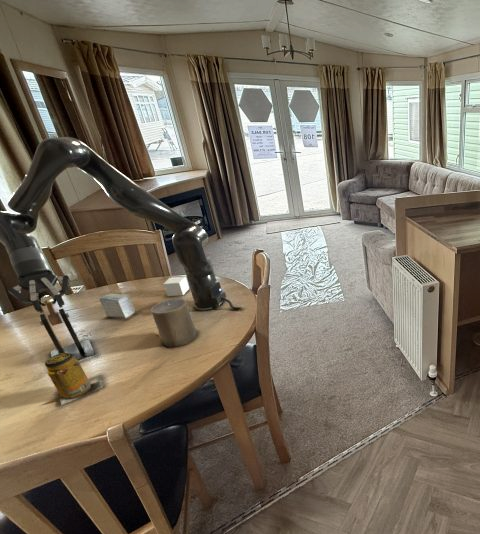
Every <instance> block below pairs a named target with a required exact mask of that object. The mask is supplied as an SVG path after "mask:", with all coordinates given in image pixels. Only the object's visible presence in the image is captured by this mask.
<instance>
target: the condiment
mask: <svg viewBox="0 0 480 534" xmlns="http://www.w3.org/2000/svg"><path fill="white" fill-rule="evenodd" d="M44 366H45V367H46V369H47V372H46V373H47V375H48V376H49V378H50V380H51V382H52V384H53V386H54V387H55V389H56V390H57V392H58V394H59V395H60V396H59V401H60V405H61V406H63V405H65V404H68V403H70V402H73V401H75V400H78V399H80V398H82V397H85V396H87V395H89V394H91V393H94V392H96V391H98V390H101V389H103V388H104V385H103V383H102V380H98V381H95V382H94V383H93V382H92V383H91V382H90V380H89V378H88V375H87V374H86V372H85V371H84V369H83V367H82V365H81V363H80V360H75V357H73V354H72V353H61V354H57V355H55V356H50V357H49V358H47V359H46V360H45V362H44Z"/></svg>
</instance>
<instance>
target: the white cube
mask: <svg viewBox="0 0 480 534" xmlns="http://www.w3.org/2000/svg"><path fill="white" fill-rule="evenodd" d="M162 284H163V287H164V291H165V293H166V297H175V296H184V295H185V294H186V293H187V292H188V290H190V287H189V283H188V280H187V277H186V276H177V277H176V276H175V277H169V278H168V279H167V280H165V282H163V283H162Z"/></svg>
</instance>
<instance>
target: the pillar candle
mask: <svg viewBox="0 0 480 534" xmlns="http://www.w3.org/2000/svg"><path fill="white" fill-rule="evenodd" d="M150 313H151V315H152V317H153V320H154V323H155V325H156V329H157V330H158V333H159V335H160V338H161V341H162V343H163V345H164V346H165V347H168V348H176V347H180V346H184V345H187V344H189V343H191V342H193V341H194V340H195V339H196V338H197V337H198V333H197V330H196V327H195V324H194V321H193V318H192V315H191V312H190V309H189V306H188V304H187V301H186V300H185V299H184V298H170V299H166V300H162V301H160V302H158V303H155V305H153V306H152V307H150Z"/></svg>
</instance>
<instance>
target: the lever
mask: <svg viewBox="0 0 480 534" xmlns="http://www.w3.org/2000/svg"><path fill="white" fill-rule="evenodd" d="M38 301H39V303H40V305H41V307H44V308H46V309H47V311H48V313H49V314H47V315H46V317H47V319H48V321H49V323H50V325H51V327H54V326H56V325H59V324H63V321H62V320H63V319H62V317H61V315H60V313H59V311H58V312H56V311H55V308H54V306H55V305H56V304H57V301H56V299H55V297H54V296H53V295H43V296H42V297H41V298H40V299H38Z"/></svg>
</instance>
